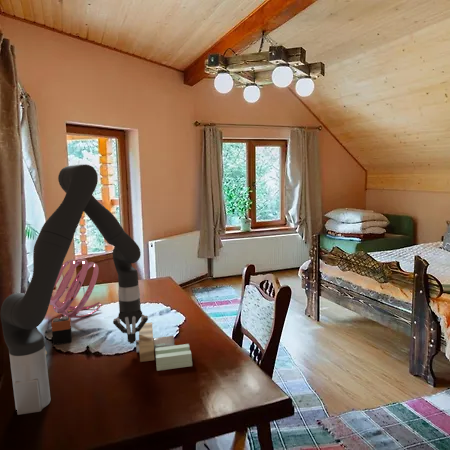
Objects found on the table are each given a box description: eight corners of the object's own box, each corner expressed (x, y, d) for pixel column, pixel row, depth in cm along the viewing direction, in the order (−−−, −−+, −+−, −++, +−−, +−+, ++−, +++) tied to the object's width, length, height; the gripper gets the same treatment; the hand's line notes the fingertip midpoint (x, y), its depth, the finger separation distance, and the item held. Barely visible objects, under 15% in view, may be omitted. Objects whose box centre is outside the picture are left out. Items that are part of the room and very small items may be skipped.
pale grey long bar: (174, 347, 151) (173, 336, 152) (174, 347, 147) (173, 335, 148) (136, 352, 148) (136, 340, 149) (136, 352, 143) (135, 340, 145)
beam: (154, 359, 139) (153, 341, 138) (140, 361, 138) (138, 343, 137) (153, 339, 157) (152, 322, 156) (140, 340, 156) (139, 323, 155)
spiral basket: (115, 263, 204) (66, 240, 191) (122, 290, 180) (67, 265, 166) (86, 306, 207) (35, 286, 193) (89, 338, 182) (32, 317, 169)
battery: (71, 342, 156) (69, 318, 155) (53, 345, 154) (50, 321, 153) (72, 338, 161) (70, 314, 159) (54, 340, 159) (52, 317, 157)
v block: (192, 366, 134) (191, 354, 133) (156, 370, 132) (156, 359, 131) (188, 352, 144) (188, 342, 143) (155, 357, 141) (155, 346, 141)
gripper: (109, 302, 138) (112, 349, 140) (147, 298, 140) (150, 344, 142) (111, 295, 145) (114, 340, 147) (147, 292, 147) (150, 336, 150)
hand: (132, 342), depth 145 cm, fingers closed
